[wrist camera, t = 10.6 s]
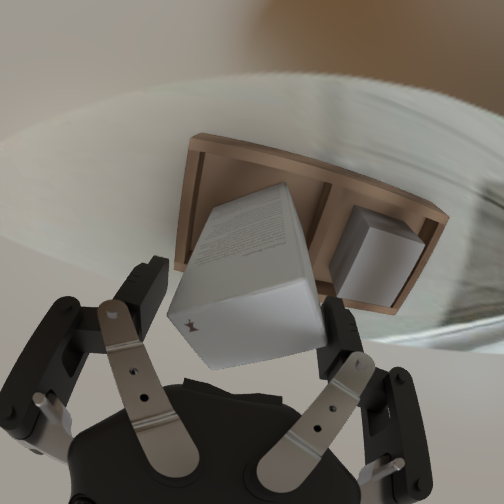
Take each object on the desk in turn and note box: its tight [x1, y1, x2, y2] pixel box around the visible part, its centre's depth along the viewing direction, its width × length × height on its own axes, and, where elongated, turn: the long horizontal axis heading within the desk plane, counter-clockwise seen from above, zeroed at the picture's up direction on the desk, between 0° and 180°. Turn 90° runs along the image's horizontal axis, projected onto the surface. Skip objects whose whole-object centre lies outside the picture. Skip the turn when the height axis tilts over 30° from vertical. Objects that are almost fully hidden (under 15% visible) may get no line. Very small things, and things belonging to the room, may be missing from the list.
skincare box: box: [167, 182, 327, 370], centre depth 16 cm, size 6×4×12 cm
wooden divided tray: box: [174, 133, 449, 315], centre depth 20 cm, size 20×11×5 cm, turn 77°
